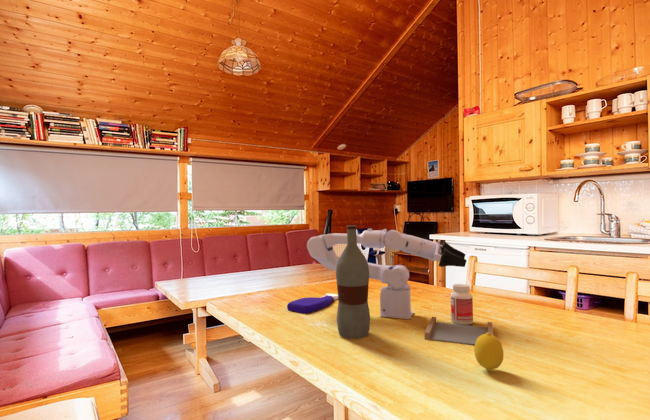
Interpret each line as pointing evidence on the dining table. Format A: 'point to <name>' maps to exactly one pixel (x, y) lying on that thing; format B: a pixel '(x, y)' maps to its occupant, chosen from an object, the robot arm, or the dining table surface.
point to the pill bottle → (461, 305)
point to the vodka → (352, 290)
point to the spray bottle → (311, 303)
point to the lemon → (488, 351)
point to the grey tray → (455, 332)
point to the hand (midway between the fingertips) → (465, 260)
